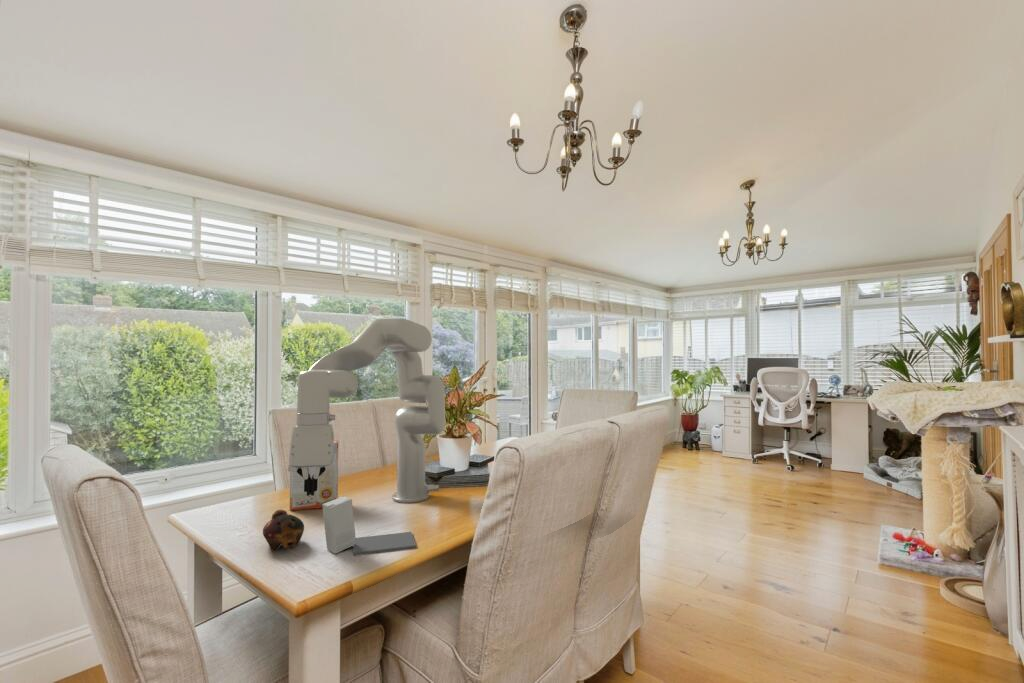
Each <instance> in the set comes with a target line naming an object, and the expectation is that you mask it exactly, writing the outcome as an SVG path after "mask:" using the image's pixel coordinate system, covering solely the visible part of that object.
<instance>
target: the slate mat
mask: <svg viewBox="0 0 1024 683" xmlns="http://www.w3.org/2000/svg"><path fill="white" fill-rule="evenodd" d="M416 548H417V545H416V541H415V539H414V535H413V532H412V531H406V532H397V533H395V532H394V533H387V534H379V535H368V536H362V537H356V544H355V545H353V556H360V555H367V554H375V553H376V554H377V553H384V552H394V551H400V550H408V549H416Z"/></svg>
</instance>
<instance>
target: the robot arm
mask: <svg viewBox="0 0 1024 683" xmlns="http://www.w3.org/2000/svg"><path fill="white" fill-rule="evenodd" d="M432 338H433V337H432V333H431V331H430V329H429V328H427V326H425V325H422V324H419V323H418V322H415V321H412V320H410V319H405V318H401V317H400V318H399V317H398V318H379V319H375V320H373V321H371V322H370V323H369V324H367V326H366V327H365V328H363V330H362V331H361V333H359V334H358V336H357V337H356V338H354V340H353V341H352V342H351V343H348V344H346V345H344V346H342V347H340V348H338V349H336V350H334V351H331V352H330V353H327V354H325V355H324V356H323V357H321V358H320V359H318V360H317V361H316V362H315V363H314V364H313V365H312V366H311V367H309V370H303V371H300V373H299V374H298V376H297V401H296V404H297V406H296V424H294V425H293V427H292V431H291V435H290V444H289V454H288V455H289V456H288V462H289V464H288V466H287V472H289V473H290V472H295V473H298V474H299V475H300V476H302V477H303V479H304V492H307V496H309V495H310V493H311V496H314V492H315V491H317V487H318V477H319V476H320V475H321V474H322V473H323V472H324V471H328V470H331V469H334V462H333V458H334V440H335V435H334V429H333V424H331V422H332V421H336V414H331V413H330V408H331V407H330V405H331V403H330V400H331V399H347V398H349V397H351V396H353V394H355V393H356V392H357V389H358V385H359V380H358V378H357V376H356V375H355V374H354V372H352V371H356V370H360V369H364V368H366V367H368V366H371V365H372V364H373V363H375V361H377V359H378V358H379V357H380V356H381V355H382V353H383V352H384V351H385V350H387V351H388V352H389V353H390V354H391V355H392V356H393V359H394V361H395V364H396V373H397V391H398V397H399V399H400V400H401V401H403V402H405V403H413V404H414V403H415V404H416V403H417V404H426V405H425V406H423V405H404V406H401V407H400V408H399V409H398V410H397V411H396V413H395V416H394V425H395V431H396V436H397V440H396V441H397V461H396V462H397V464H396V466H397V474H396V476H397V478H396V479H397V480H396V491H395V492H394V493H393V494H392V496H391V498H392V501H395V502H398V503H402V504H403V503H405V504H407V503H408V504H411V503H412V504H413V503H418V502H423V501H426V500H428V499H429V498H430V492H438V491H440V487H439V486H440V485H438V484H437V485H435V484H427V483H426V450H427V449H426V443H425V440H424V439H423V436H422V435H429V436H430V435H431V436H435V435H440V434H442V433H443V431H444V430H445V427H446V399H445V397H446V396H445V386H444V383H443V381H442V379H441V378H440V377H439V376H438V375H432V374H430V375H429V374H427V375H425V374H423V362H422V358H421V356H420V354H419V353H423V352H426V351H427V350H429V348H430V347H431V345H432V341H433V340H432ZM314 466H315V471H314V474H313V476H312V479H311V478H310V475H309V469H308V467H314ZM321 466H322V467H321Z"/></svg>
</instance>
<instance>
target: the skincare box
mask: <svg viewBox="0 0 1024 683" xmlns="http://www.w3.org/2000/svg"><path fill="white" fill-rule="evenodd" d="M322 507H323V508H322V514H323V515H322V516H323V524H324V534H325V541H326V542H325V544H326V550H327V551H328V552H330V553H332V554H337V553H340V552H343V551H344V550H346V549H348V548H350V547H354V545H355V544H356V538H357V537H356V529H355V528H356V527H355V520H354V508H353V500H352V498H350V497H347V496H341V497H338V499H335V500H332V501H330V502H327V503H325V504H322Z"/></svg>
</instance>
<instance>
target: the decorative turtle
mask: <svg viewBox="0 0 1024 683" xmlns="http://www.w3.org/2000/svg"><path fill="white" fill-rule="evenodd" d="M304 531H305V524H304V522H303V521H302V519H301V518H299V517H297V516H296V515H294V514H288V513H287V511H286V510H284V509H277V510H275V511H274V512H273V513H272V515H271V519H270V520H269V521H267V523H266V524H265V525H264V526H263V529H262V535H263V537H264V539H265V541H266V542H267V544H268V546H269V549H270V550H271V551H277V550H278V549H279V548H280V547H281V546H282V547H284V549H289V550H290V549H292V548H294V547H296V546H298V545H299V543H300V542H301V540H302V536H303V534H304Z"/></svg>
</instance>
